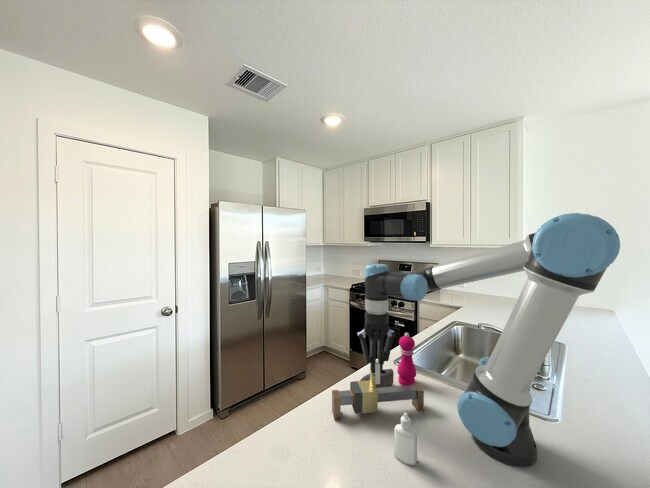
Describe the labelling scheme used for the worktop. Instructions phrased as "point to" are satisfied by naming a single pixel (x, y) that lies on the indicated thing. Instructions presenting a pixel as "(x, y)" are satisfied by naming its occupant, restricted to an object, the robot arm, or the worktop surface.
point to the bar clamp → (380, 397)
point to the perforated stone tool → (383, 378)
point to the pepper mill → (406, 361)
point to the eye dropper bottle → (405, 442)
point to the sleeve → (369, 394)
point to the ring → (356, 397)
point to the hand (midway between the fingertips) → (376, 381)
